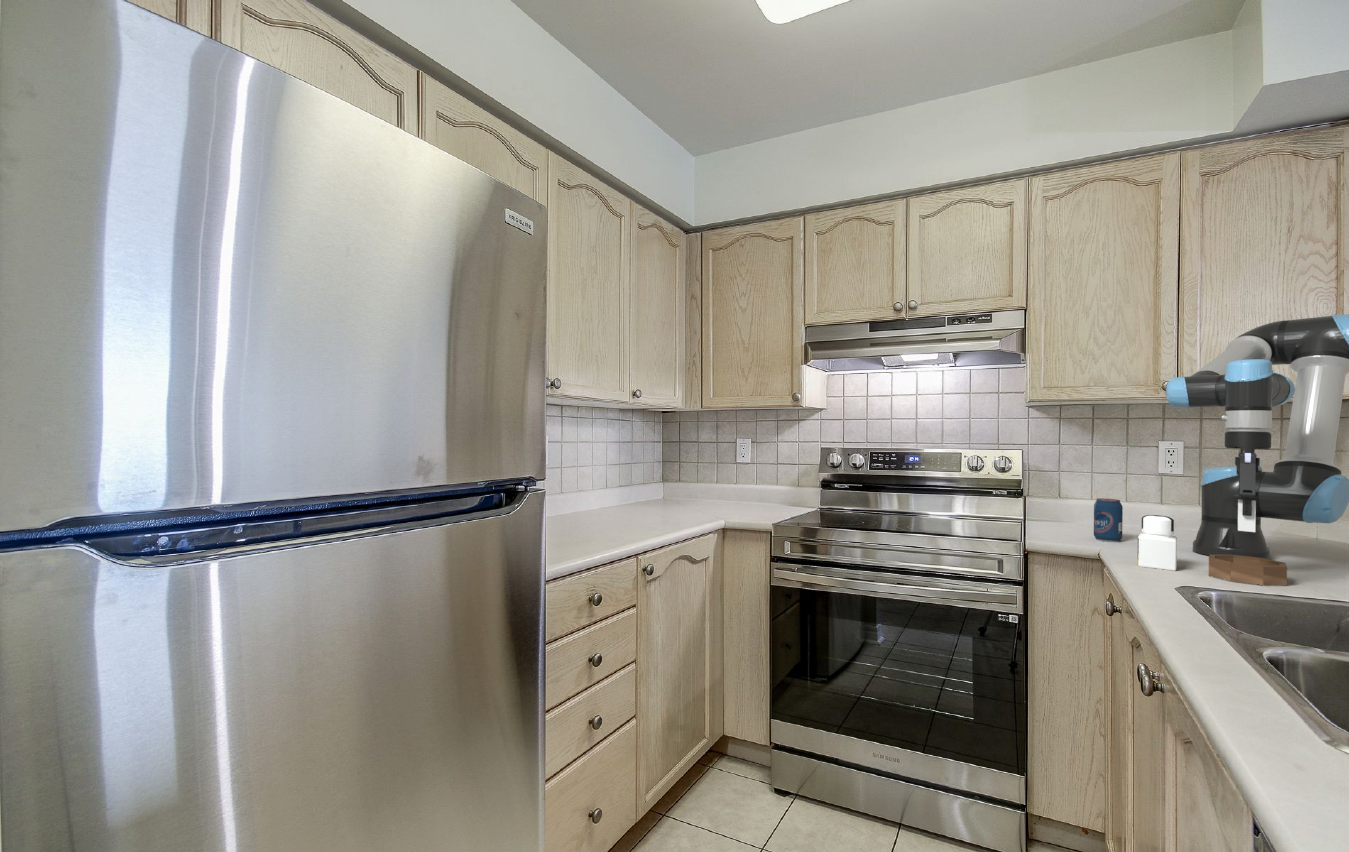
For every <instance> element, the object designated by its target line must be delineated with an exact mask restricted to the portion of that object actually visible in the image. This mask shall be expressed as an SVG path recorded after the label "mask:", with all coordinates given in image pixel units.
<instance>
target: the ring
mask: <svg viewBox="0 0 1349 852" xmlns="http://www.w3.org/2000/svg"><path fill="white" fill-rule="evenodd" d="M1211 576H1213V577H1212V578H1215V577H1216V578H1215V579H1219V578H1222V579H1221V580H1223V579H1225V580H1224V581H1226V580H1227V581H1226V582H1230V581H1234V582H1233V583H1239V584H1246V583H1250V584H1249V585H1253V584H1259V585H1258V586H1261V585H1287V586H1288V566H1287V563H1286V562H1283V561H1277V560H1275V559H1274V560H1273V559H1265V558H1258V557H1249V556H1239V555H1208V577H1211Z"/></svg>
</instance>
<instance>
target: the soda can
mask: <svg viewBox="0 0 1349 852" xmlns="http://www.w3.org/2000/svg"><path fill="white" fill-rule="evenodd" d="M1123 509H1124V507H1123V505H1122V503H1121V500H1120V499H1115V498H1104V497H1103V498H1099V497H1098V498H1096V500H1095V502H1094V504H1093V536H1094V538H1095V539H1096V540H1097V541H1100V542H1107V543H1120V541H1121V540H1122V539H1123V515H1124V514H1123Z"/></svg>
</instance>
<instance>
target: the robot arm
mask: <svg viewBox="0 0 1349 852" xmlns="http://www.w3.org/2000/svg"><path fill="white" fill-rule="evenodd" d="M1273 365H1274V366H1275V365H1279V366H1280V365H1290V369H1291V370H1293V372H1295V373H1296V378H1295V384H1294V381H1292V380H1291V379H1290V378H1289V377H1287V376H1285V375H1283V374H1281V373H1278V372H1274V370H1273ZM1348 374H1349V314H1348V313H1347V314H1331V315H1327V316H1326V315H1325V316H1317V317H1308V318H1296V319H1289V320H1278V321H1277V320H1276V321H1273V322H1269V323H1265V324H1263V325H1260V326H1258V327H1254V328H1252V329H1250V330H1248V331H1246V332H1243V333H1242V334H1240V335H1238V336H1237V337H1235V338H1234V339H1232V340H1231V341H1230V342H1229V343H1228V344H1227V346H1226V347H1225V350H1224V351H1222V352H1221V353H1220V354H1219V355H1218V356H1216V357H1214V359H1211V361H1210V362H1208V363H1207V364H1205V365H1204V366H1203V367H1201V368H1200V369H1198V370H1197V371H1196V372H1195V373H1193V374H1192V375H1190V376H1183V375H1182V376H1179V377H1173V378H1170V379H1169V381H1168V383H1167V385H1166V387H1165V388H1166V389H1165V394H1166V395H1165V396H1166V400H1167V402H1168V404H1170V406H1172V407H1175V408H1187V409H1189V408H1214V407H1215V408H1218V407H1225V409H1224V410H1225V414H1224V415H1223V414H1222V416H1221V417H1220V418H1221V420H1222V421H1223V420H1224V421H1225V422H1224V425H1225V426H1224V428H1225V429H1227V430H1228V431H1225V433H1224V447H1225V448H1227V449H1240V452H1239V453H1238V456H1235V457H1234V463H1235V465H1234V466H1227V467H1226V466H1225V467H1210V468H1207V469H1204V471H1203V472H1202V474H1201V475H1202V478H1201V484H1200V487H1201V512H1200V513H1201V519H1200V521H1201V523H1200V525H1199V528H1198V531H1197V533H1196V537H1195V539H1194V540H1193V541H1192V551H1193V552H1194V553H1197V554H1200V555H1201V554H1202V555H1206V556H1209V555H1239V556H1249V557H1258V558H1265V559H1269V560H1271V550H1270V548H1269V547H1268V546H1267V542H1266V538H1265V536H1264V533H1263V530H1262V526H1261V521H1262V518H1265V519H1275V520H1285V521H1292V522H1302V523H1303V522H1304V523H1307V524H1313V523H1315V524H1333V523H1335V522H1337V521H1339V519H1341V518H1342V517H1343V515H1344V514H1345V512H1346V510H1347V507H1348V505H1349V478H1348V477H1347V476H1345V475H1342V469H1341V468H1340V467H1338V466H1337V465H1336V464H1335V463H1334V460H1335V452H1336V447H1337V438H1338V432H1339V424H1340V418H1341V411H1342V402H1343V397H1344V390H1345V383H1346V375H1348ZM1292 398H1293V399H1292ZM1291 399H1292V405H1291V411H1290V419H1289V425H1288V431H1287V435H1286V436H1287V437H1286V442H1285V443H1286V444H1285V449H1284V455H1283V458H1282V459H1280V460H1277V461H1275V463H1274V464H1273V465H1274V466H1273V471H1263V468H1262V466H1261V465H1260V463H1261V459H1260V457H1257V453H1256V451H1255V450H1269V449H1271V447H1272V433H1271V432H1270V431H1269V430H1271V429H1272V428H1273V411H1272V407H1273V408H1274V407H1278V406H1282V405H1284V404H1286V403H1288V402H1289V401H1290V400H1291Z"/></svg>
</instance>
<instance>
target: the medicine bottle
mask: <svg viewBox="0 0 1349 852" xmlns="http://www.w3.org/2000/svg"><path fill="white" fill-rule="evenodd" d="M1174 534H1175V520H1174V519H1173V518H1172V517H1170V516H1167V515H1160V514H1159V515H1157V514H1146V515H1143V516H1142V517H1141V532H1140V533H1139V535H1138V537H1137V567H1138V568H1145V567H1146V569H1154V568H1157V569H1156V570H1162V569H1164V571H1170V570H1171V571H1172V572H1176V571H1177V568H1178V567H1177V566H1178V537H1177V536H1176V535H1174Z"/></svg>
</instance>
